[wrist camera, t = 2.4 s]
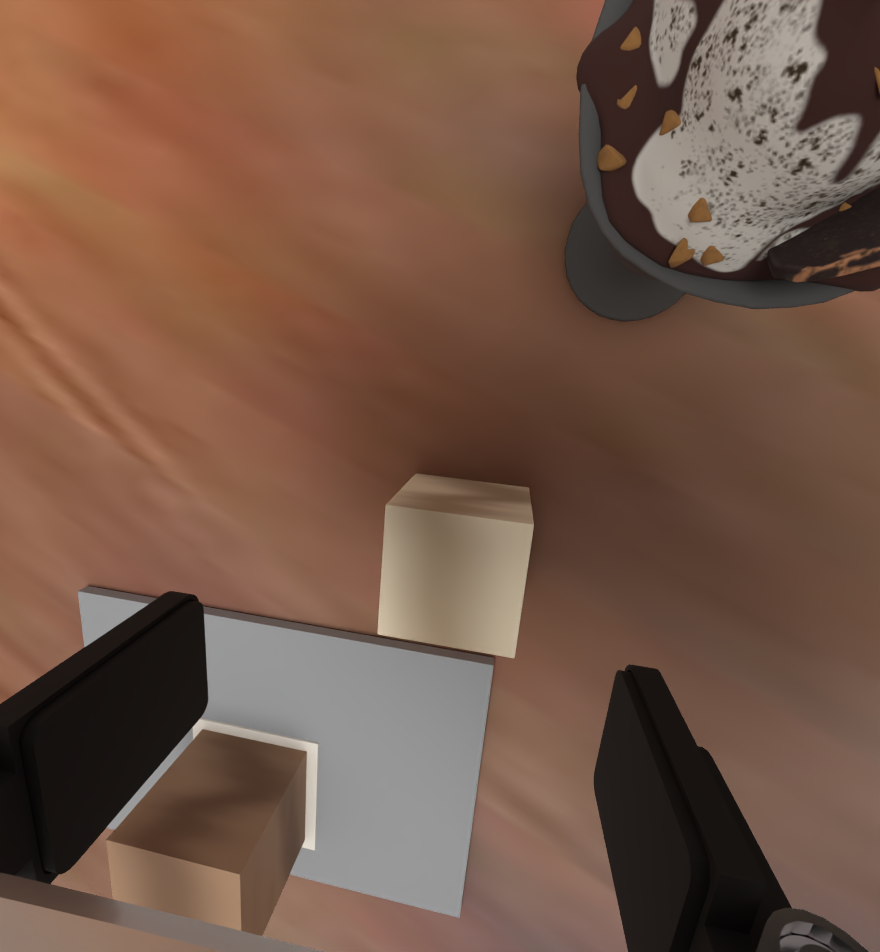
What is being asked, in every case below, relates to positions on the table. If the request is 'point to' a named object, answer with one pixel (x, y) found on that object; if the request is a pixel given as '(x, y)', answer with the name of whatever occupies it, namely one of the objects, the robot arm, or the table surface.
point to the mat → (348, 742)
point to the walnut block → (215, 833)
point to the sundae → (728, 155)
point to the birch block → (456, 563)
